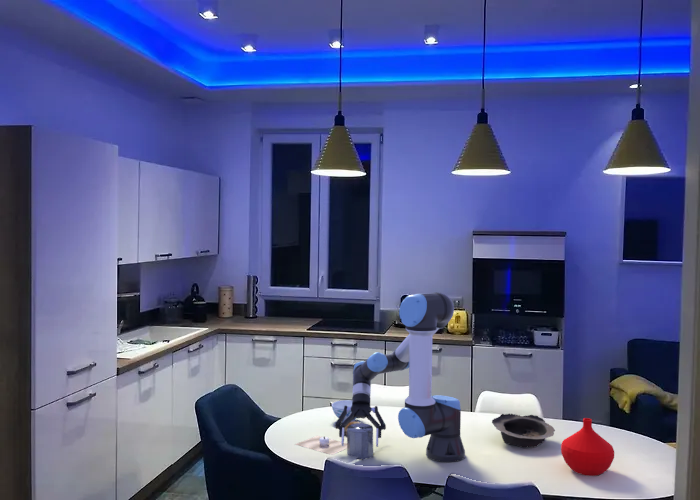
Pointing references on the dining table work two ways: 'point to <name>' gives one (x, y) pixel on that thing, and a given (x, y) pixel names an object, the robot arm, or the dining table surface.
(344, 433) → the bread roll
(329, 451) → the striped cloth
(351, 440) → the steel tin
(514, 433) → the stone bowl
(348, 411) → the robot arm
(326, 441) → the candle
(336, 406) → the chinaware
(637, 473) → the dining table surface
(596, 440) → the vase
